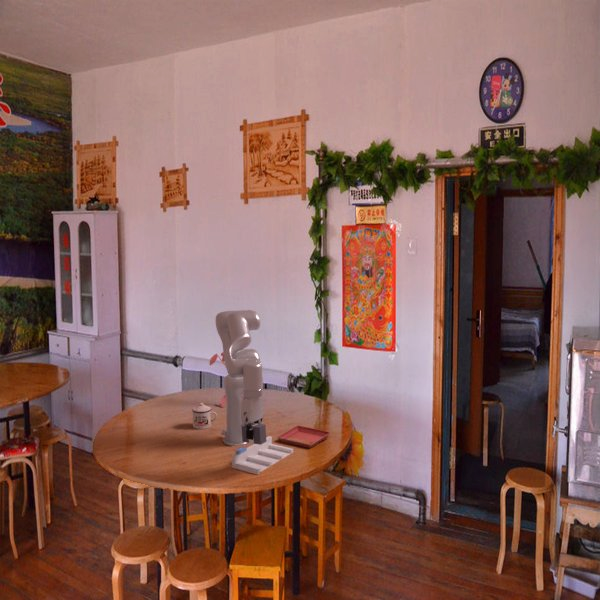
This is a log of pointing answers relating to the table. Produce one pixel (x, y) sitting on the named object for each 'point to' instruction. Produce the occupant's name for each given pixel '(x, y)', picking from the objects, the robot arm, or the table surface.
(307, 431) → the plant saucer
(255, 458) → the white ribbed panel
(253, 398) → the robot arm
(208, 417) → the teacup with lid
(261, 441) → the block
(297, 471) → the table surface
